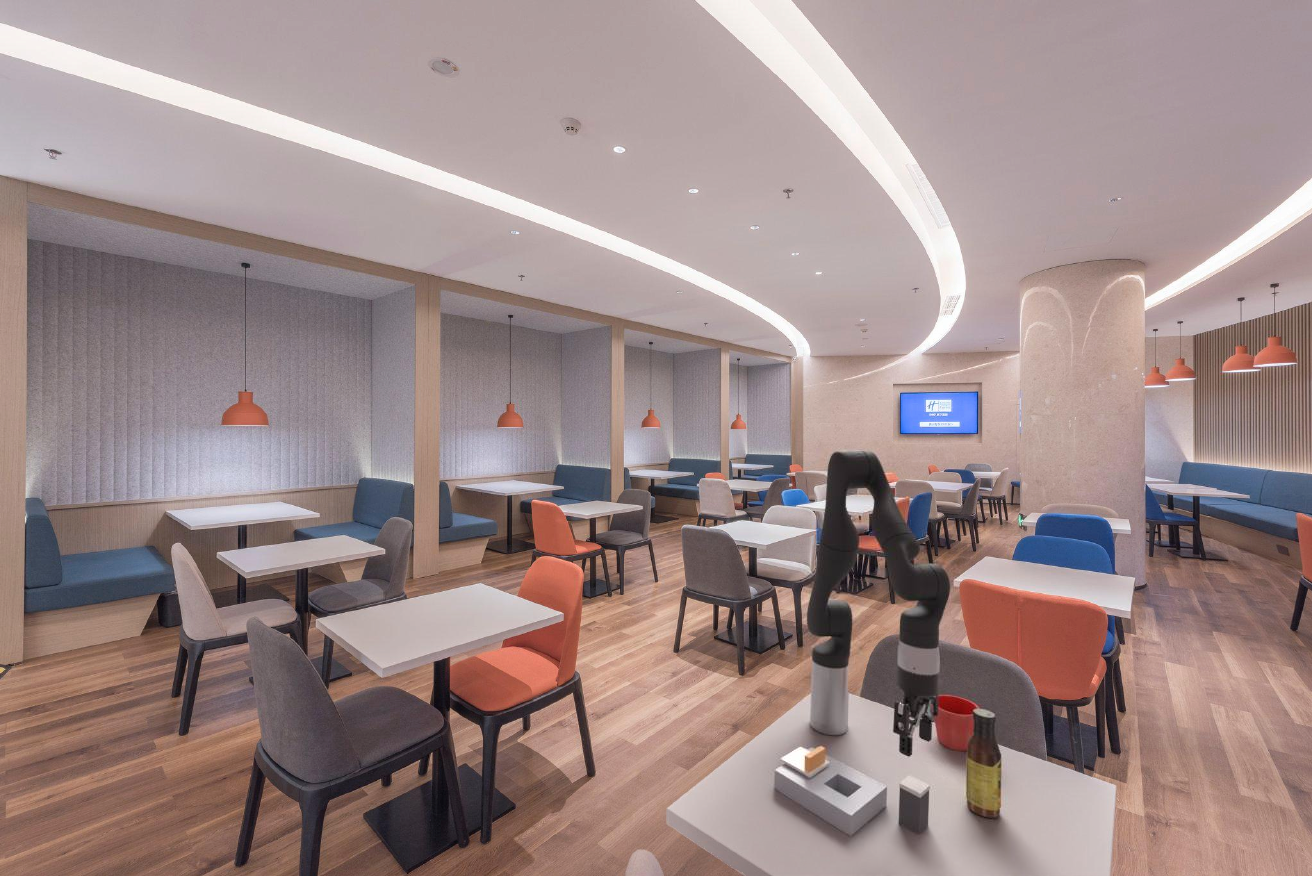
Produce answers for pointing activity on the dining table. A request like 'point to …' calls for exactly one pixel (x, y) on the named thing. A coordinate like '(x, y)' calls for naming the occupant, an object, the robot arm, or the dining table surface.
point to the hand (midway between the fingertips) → (915, 746)
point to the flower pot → (954, 721)
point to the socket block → (834, 794)
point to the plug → (914, 804)
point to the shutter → (806, 760)
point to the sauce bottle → (983, 766)
